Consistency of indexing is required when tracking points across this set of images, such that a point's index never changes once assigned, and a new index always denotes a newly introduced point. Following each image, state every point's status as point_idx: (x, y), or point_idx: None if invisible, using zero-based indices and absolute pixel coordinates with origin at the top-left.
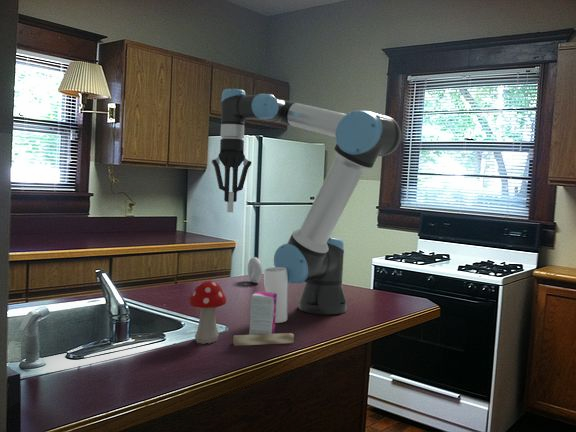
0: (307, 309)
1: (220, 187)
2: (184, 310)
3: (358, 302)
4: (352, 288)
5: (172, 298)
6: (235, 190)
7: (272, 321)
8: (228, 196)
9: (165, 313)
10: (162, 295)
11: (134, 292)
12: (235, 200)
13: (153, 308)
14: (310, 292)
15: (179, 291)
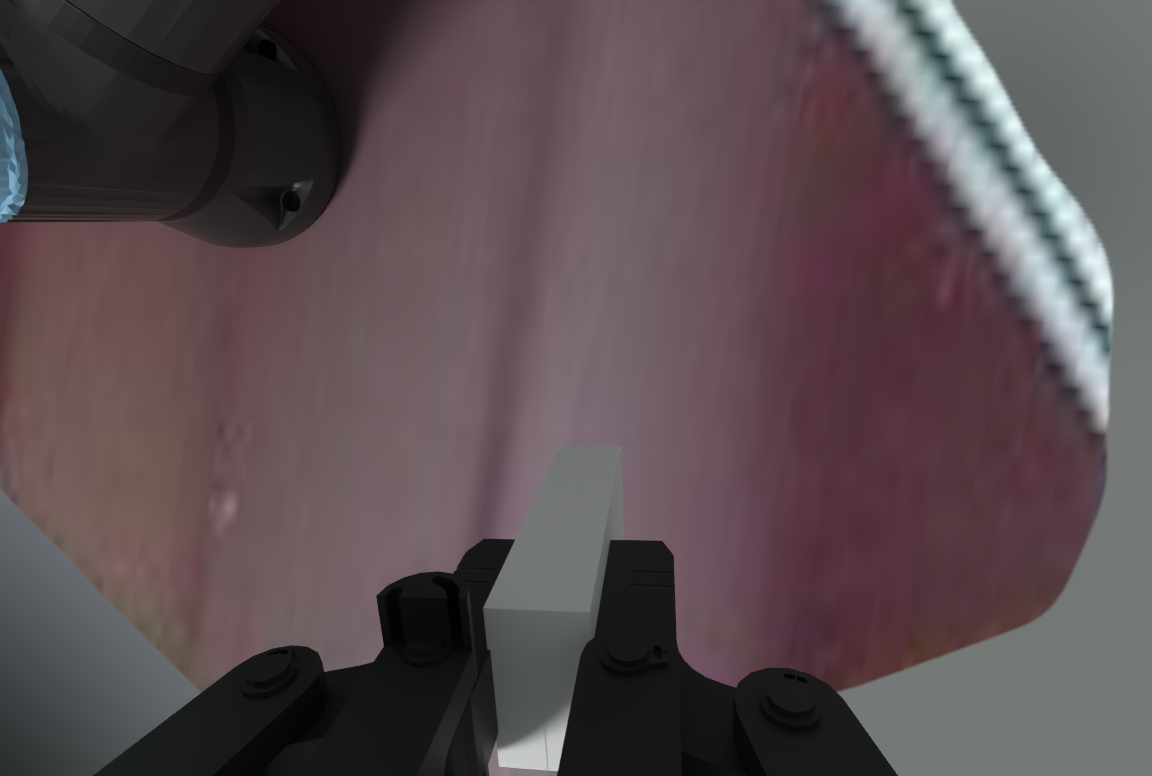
0: (307, 64)
1: (836, 710)
2: (869, 155)
3: (82, 261)
4: (76, 523)
5: (886, 411)
6: (431, 593)
7: None
8: (604, 594)
9: (974, 96)
10: (924, 477)
11: (1052, 554)
12: (486, 549)
13: (1016, 208)
14: (245, 59)
15: (828, 550)
